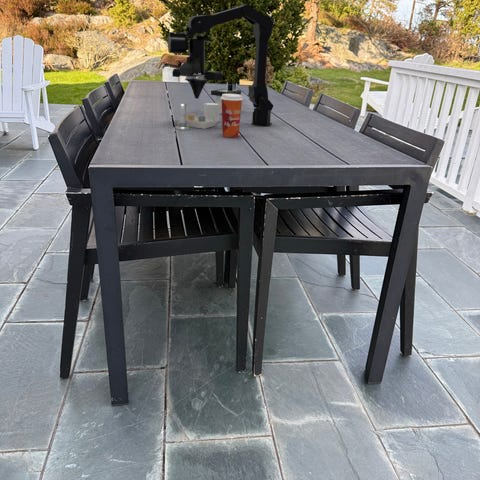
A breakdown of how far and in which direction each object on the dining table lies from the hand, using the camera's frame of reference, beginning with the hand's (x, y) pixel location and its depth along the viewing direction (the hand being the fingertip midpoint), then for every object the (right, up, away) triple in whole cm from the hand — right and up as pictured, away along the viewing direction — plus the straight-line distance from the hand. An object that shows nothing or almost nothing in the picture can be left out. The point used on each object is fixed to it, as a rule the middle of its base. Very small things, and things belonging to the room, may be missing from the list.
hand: (196, 98), depth 167 cm
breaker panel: (-1, -9, +4) cm, 10 cm away
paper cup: (+13, -17, -11) cm, 24 cm away
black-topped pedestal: (+11, +4, +36) cm, 38 cm away
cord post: (-5, -12, -4) cm, 14 cm away
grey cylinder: (+5, -5, +14) cm, 15 cm away
